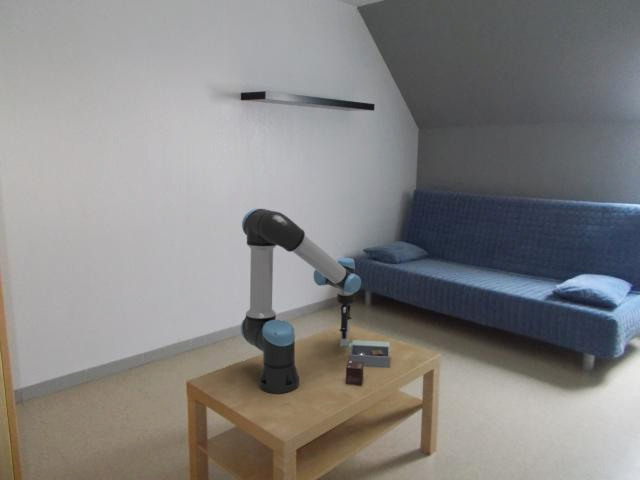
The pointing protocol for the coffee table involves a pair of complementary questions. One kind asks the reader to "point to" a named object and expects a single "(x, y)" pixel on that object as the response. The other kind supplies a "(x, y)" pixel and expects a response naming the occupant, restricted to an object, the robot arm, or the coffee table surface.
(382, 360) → the tub
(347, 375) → the box
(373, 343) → the lid
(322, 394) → the coffee table surface
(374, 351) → the walnut block
